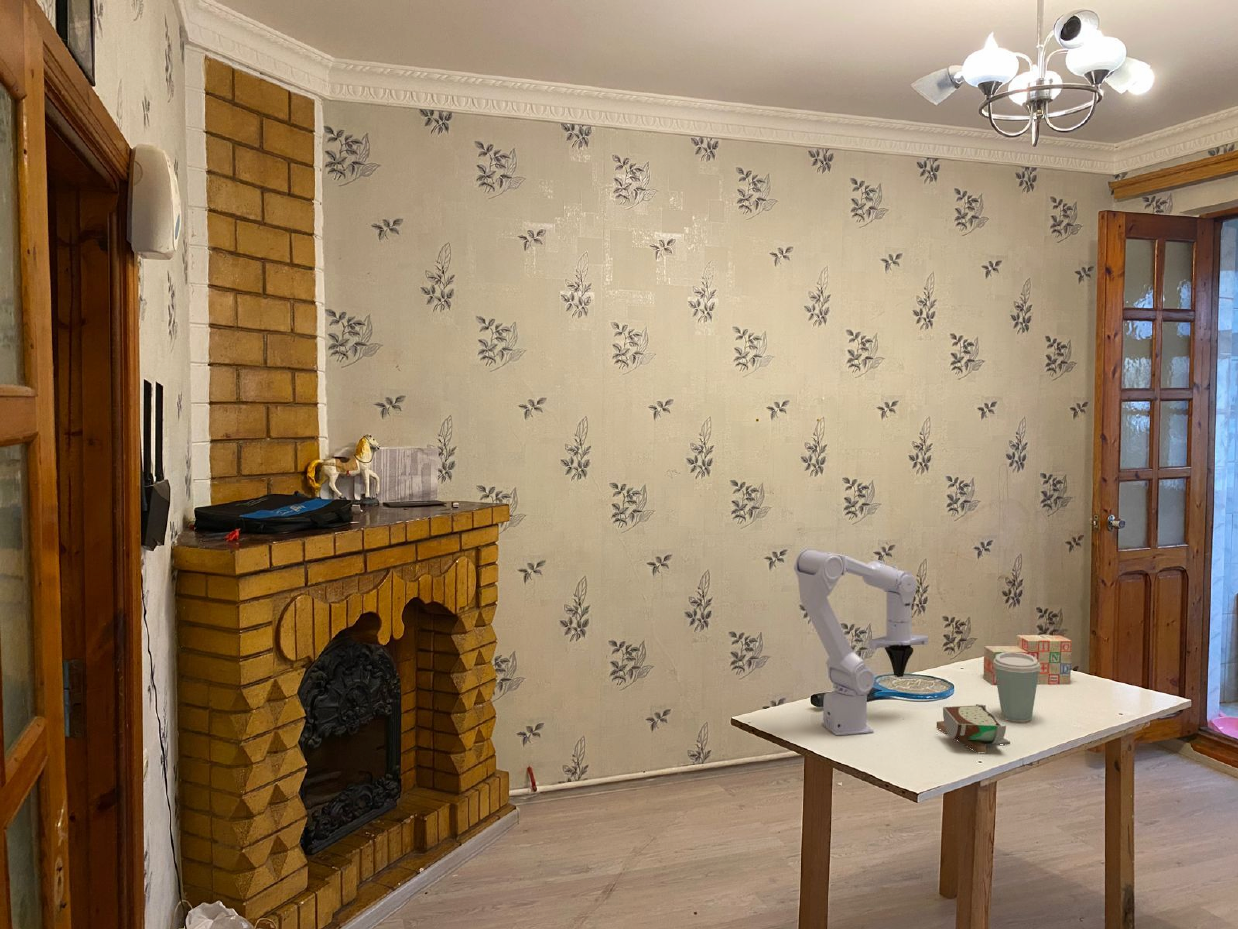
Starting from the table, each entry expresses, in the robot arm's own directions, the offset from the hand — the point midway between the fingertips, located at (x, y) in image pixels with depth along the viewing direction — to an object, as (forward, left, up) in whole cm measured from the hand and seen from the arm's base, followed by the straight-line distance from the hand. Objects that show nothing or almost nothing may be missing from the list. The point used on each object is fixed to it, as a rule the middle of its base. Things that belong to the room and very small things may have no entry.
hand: (898, 675), depth 219 cm
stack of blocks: (+49, +20, -11) cm, 54 cm away
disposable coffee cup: (+28, -6, -11) cm, 30 cm away
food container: (+2, -18, -7) cm, 19 cm away
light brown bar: (+6, -16, -10) cm, 20 cm away
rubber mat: (+12, -15, -10) cm, 22 cm away
